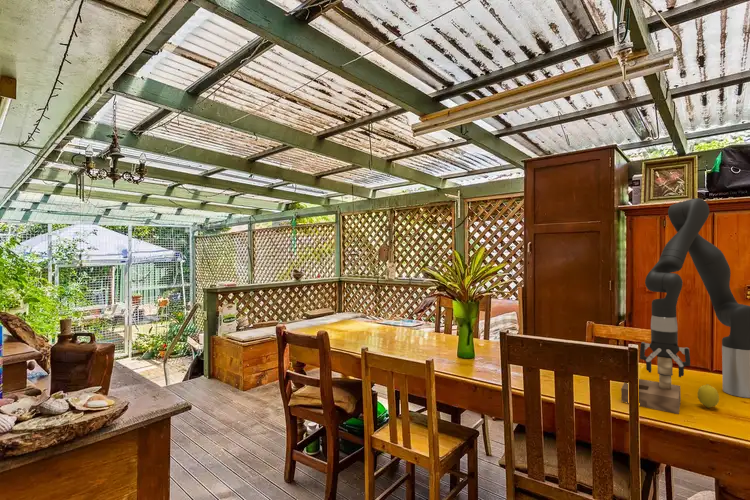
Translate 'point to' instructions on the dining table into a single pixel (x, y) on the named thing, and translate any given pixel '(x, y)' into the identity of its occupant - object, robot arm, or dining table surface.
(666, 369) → the peg
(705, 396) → the lemon
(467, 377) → the dining table surface
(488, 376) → the dining table surface
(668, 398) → the board
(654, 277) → the robot arm
